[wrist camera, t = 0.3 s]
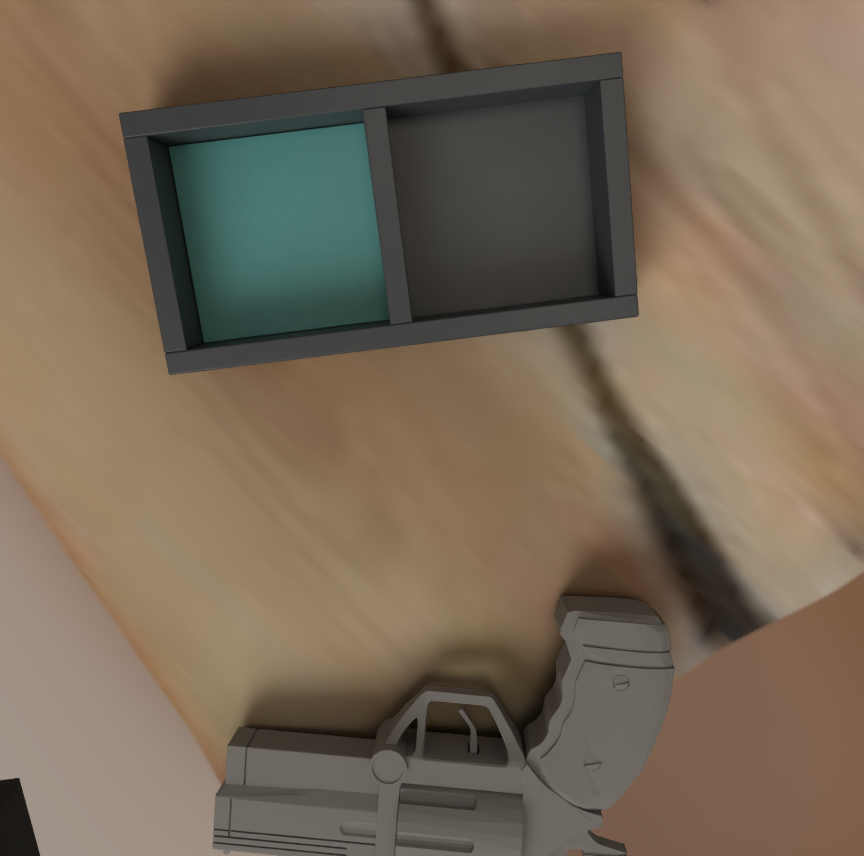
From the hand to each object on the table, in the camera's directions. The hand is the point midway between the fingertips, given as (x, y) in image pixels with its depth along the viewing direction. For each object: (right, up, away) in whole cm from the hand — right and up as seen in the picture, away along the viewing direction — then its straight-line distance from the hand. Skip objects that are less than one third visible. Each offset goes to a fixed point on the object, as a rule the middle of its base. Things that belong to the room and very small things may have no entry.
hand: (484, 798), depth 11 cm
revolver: (0, -3, +28) cm, 28 cm away
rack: (-3, +15, +26) cm, 30 cm away
